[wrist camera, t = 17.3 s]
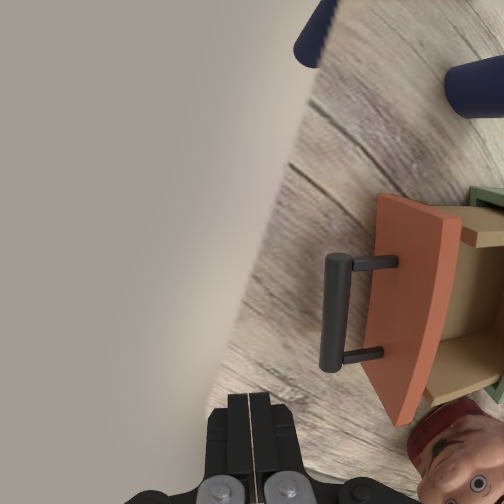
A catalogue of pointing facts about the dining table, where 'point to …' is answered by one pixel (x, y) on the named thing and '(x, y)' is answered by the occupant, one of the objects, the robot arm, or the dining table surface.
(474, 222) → the drawer
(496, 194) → the cabinet
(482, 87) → the blue cylinder
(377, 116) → the dining table surface
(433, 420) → the decorative planter
